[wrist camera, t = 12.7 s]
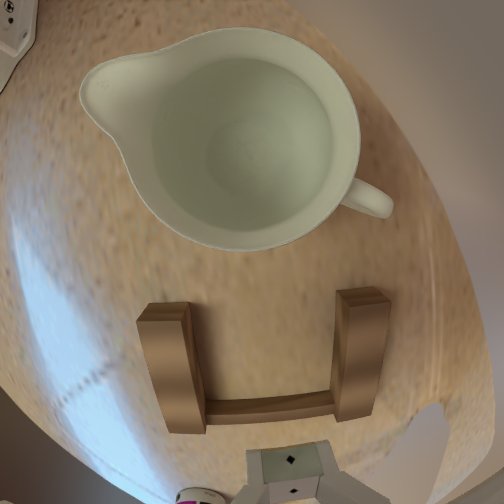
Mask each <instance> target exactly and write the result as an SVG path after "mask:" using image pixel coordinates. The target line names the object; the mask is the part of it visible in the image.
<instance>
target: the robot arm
mask: <svg viewBox="0 0 504 504" xmlns="http://www.w3.org/2000/svg"><path fill="white" fill-rule="evenodd" d="M37 7H38V0H0V92H1V91H2V89H3V88H4V86H5V84H6V83H7V81H8V79H9V77H10V75H11V73H12V71H13V70H14V68H15V66H16V64H17V63H18V61H19V60H20V59H21V58H22V57H23V56H24V55H25V53H26V52H27V51H28V50H29V49H30V47H31V46H32V44H33V43H34V40H35V29H36V16H37ZM246 462H247V478H248V485H244V486H243V487H242V489H241V490H240V491H239V493H238V494H237V495H236V497H235V498H234V499H233V500H232V502H231V503H230V504H273V503H281V502H288V501H294V500H302V499H309V498H315V497H316V499H317V500H318V501H319V502H320V503H321V504H391V503H390V500H389V499H388V498H386V497H385V496H383V495H381V494H379V493H378V492H376V491H374V490H373V489H371V488H369V487H368V486H366V485H364V484H363V483H361V482H360V481H358V480H357V479H355V478H353V477H352V476H350V475H349V474H347V473H346V472H344V471H341V472H340V471H339V468H338V465H337V462H336V460H335V457H334V454H333V451H332V448H331V445H330V442H329V441H328V440H322V441H317V442H309V443H304V444H298V445H291V446H287V447H278V448H267V449H261V451H260V449H253V450H246ZM0 504H12V503H11V502H8V501H0ZM446 504H504V467H503V468H502V469H500V470H499V471H498V472H496V473H495V474H493V475H492V476H491V477H489V478H488V479H486V480H485V481H483V482H482V483H480V484H479V485H477V486H475V487H474V488H472V489H471V490H469V491H467V492H466V493H464V494H462V495H461V496H459V497H457V498H456V499H454V500H452V501H450V502H448V503H446Z"/></svg>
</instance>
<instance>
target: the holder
mask: <svg viewBox="0 0 504 504" xmlns="http://www.w3.org/2000/svg"><path fill="white" fill-rule="evenodd" d="M390 309H391V301H390V300H389V299H388V298H387V297H385V296H384V295H383V294H382V293H381V292H380V291H378V290H377V289H376V288H375V287H365V288H357V289H348V290H339V291H336V312H335V331H334V346H333V359H332V371H331V381H330V390H328V391H321V392H314V393H307V394H299V395H290V396H281V397H270V398H258V399H242V400H214V401H206V396H205V392H204V387H203V382H202V377H201V372H200V366H199V361H198V356H197V350H196V344H195V339H194V333H193V327H192V321H191V314H190V308H189V302H176V303H149V304H148V305H147V307H146V308H145V310H144V311H143V312H142V314H141V315H140V317H139V318H138V319H137V321H136V324H137V328H138V332H139V336H140V340H141V344H142V348H143V352H144V356H145V359H146V363H147V367H148V370H149V373H150V377H151V380H152V383H153V387H154V390H155V393H156V396H157V399H158V402H159V405H160V408H161V411H162V414H163V417H164V420H165V423H166V425H167V428H168V431H169V433H179V434H206V426H207V425H229V424H251V423H265V422H276V421H286V420H295V419H303V418H310V417H317V416H323V415H329V414H334V416H335V419H336V421H337V422H343V421H348V420H352V419H357V418H362V417H366V416H370V415H371V413H372V409H373V405H374V401H375V397H376V392H377V388H378V383H379V378H380V373H381V368H382V363H383V357H384V351H385V345H386V339H387V332H388V325H389V317H390Z"/></svg>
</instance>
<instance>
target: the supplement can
mask: <svg viewBox="0 0 504 504" xmlns="http://www.w3.org/2000/svg"><path fill="white" fill-rule="evenodd" d="M175 504H225V499H224V498H223V497H222V496H220V494H218V493H216V492H214V491H211V490H208V489H201V488H190V489H185V490H183V491H181V492H179V493H178V494H177V496H176V502H175Z"/></svg>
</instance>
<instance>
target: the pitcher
mask: <svg viewBox="0 0 504 504" xmlns="http://www.w3.org/2000/svg"><path fill="white" fill-rule="evenodd" d="M79 98H80V103H81V105H82V107H83V108H84V110H85V112H86V113H87V115H88V116H89V117H90V118H91V119H92V120H93V121H94V122H95V124H96V125H98V126H99V127H100V128H101V129H102V130H103V131H104V132H105V133H106V134H108V135H109V136H110V137H111V138H112V139H113V141H114V142H115V144H116V145H117V147H118V149H119V151H120V153H121V155H122V158H123V161H124V164H125V166H126V169H127V171H128V174H129V177H130V179H131V182H132V184H133V186H134V187H135V189H136V191H137V193H138V195H139V196H140V198H141V199H142V201H143V202H144V203H145V205H146V206H147V208H148V209H149V210H150V211H151V212H152V213H153V214H154V215H155V216H156V217H157V218H158V219H159V220H160V221H161V222H162V223H164V224H165V225H166V226H167V227H169V228H170V229H171V230H173V231H174V232H176V233H178V234H179V235H181V236H182V237H184V238H186V239H189V240H191V241H193V242H195V243H197V244H200V245H203V246H207V247H210V248H213V249H218V250H224V251H232V252H252V251H262V250H267V249H272V248H276V247H279V246H282V245H285V244H288V243H291V242H293V241H295V240H297V239H299V238H301V237H303V236H305V235H306V234H308V233H309V232H311V231H312V230H314V229H315V228H317V227H318V226H319V225H320V224H321V223H322V222H324V221H325V220H326V219H327V218H328V217H329V216H330V215H331V214H332V213H333V212H334V210H335V209H336V208H337V207H338V206H339V204H342V205H344V206H346V207H349V208H351V209H354V210H356V211H359V212H362V213H364V214H367V215H370V216H374V217H378V218H382V219H386V218H388V217H390V215H391V213H392V211H393V208H394V203H393V200H392V199H391V198H390V197H389V196H388V195H387V194H385V193H384V192H382V191H380V190H379V189H377V188H375V187H374V186H372V185H370V184H368V183H366V182H364V181H362V180H360V179H358V178H355V177H354V176H355V173H356V170H357V167H358V163H359V157H360V151H361V131H360V122H359V117H358V113H357V109H356V106H355V103H354V101H353V98H352V96H351V94H350V92H349V90H348V88H347V86H346V84H345V83H344V81H343V80H342V78H341V77H340V76H339V74H338V73H337V72H336V70H335V69H334V68H333V67H332V66H331V65H330V64H329V63H328V62H327V61H326V60H325V59H324V58H323V57H322V56H320V55H319V54H318V53H317V52H315V51H314V50H313V49H311V48H310V47H308V46H306V45H305V44H303V43H301V42H299V41H297V40H295V39H293V38H291V37H289V36H286V35H283V34H280V33H277V32H274V31H269V30H264V29H259V28H249V27H230V28H222V29H215V30H211V31H207V32H204V33H200V34H197V35H195V36H192V37H190V38H187V39H185V40H182V41H180V42H178V43H175V44H173V45H171V46H168V47H165V48H162V49H160V50H156V51H153V52H146V53H137V54H131V55H125V56H121V57H117V58H113V59H110V60H108V61H105V62H103V63H101V64H98V65H97V66H95V67H94V68H93V69H92V70H91V71H89V72H88V73H87V75H86V76H85V78H84V79H83V81H82V83H81V87H80V90H79Z"/></svg>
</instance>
